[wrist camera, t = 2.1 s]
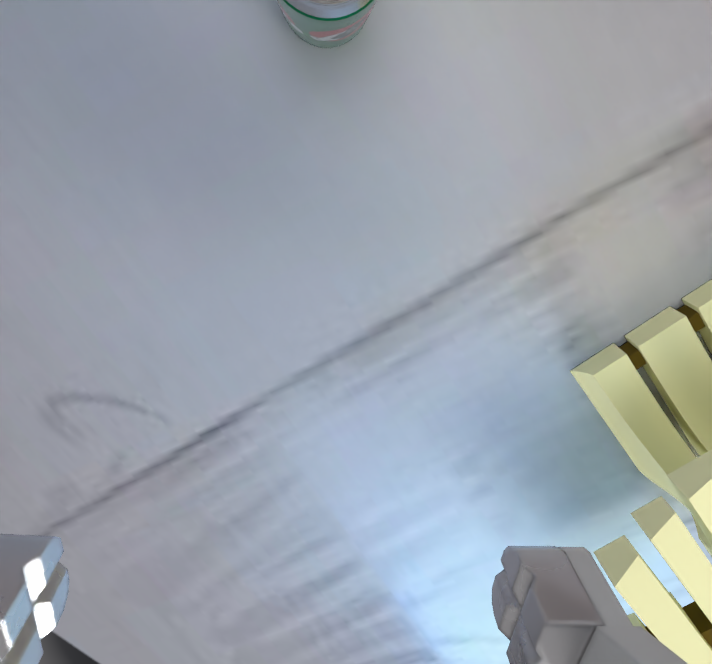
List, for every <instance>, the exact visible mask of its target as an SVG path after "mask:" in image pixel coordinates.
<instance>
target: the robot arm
mask: <svg viewBox="0 0 712 664" xmlns="http://www.w3.org/2000/svg"><path fill="white" fill-rule="evenodd" d="M63 552H64V550H63V546H62V542H61V538H60V537H55V536H34V535H13V534H0V664H38V663H39V661H40V659H41V657H42V655H43V649H42V645H41V640H40V639H42V638H43V637H44V636H45V635H46V634H48V633H49V632H50V631H52V630H53V629H54V628H55V627H56V626H57V624H58V622H59V619H60V617H61V615H62V613H63V611H64V607H65V603H66V600H67V596H68V592H69V575H68V570H67V568H66V567H64V566H63V565H62V564H61V563H60V562H58V561H59V559H60V557H61V556H62V554H63ZM501 562H502V564H503V567H504V570H503V571H501V572H500V573H499V574H497V575H496V576H495V580H494V583H493V587H492V606H493V611H494V616H495V619H496V623H497V626H498V629H499V630H500V631H501V632H502V633H503V634H504V635H505V636H506V637H507V638H508V639H509V640H510V644H509V647H508V650H507V656H508V659H509V662H510V664H688V663H686V662H685V661H684V660H683V659H681V658H680V657H679V656H678V655H676V654H675V653H674V652H673V651H671V650H670V649H669V648H668V647H666V646H665V645H664V644H662V643H661V642H660V641H659V640H657V639H656V638H655V637H654V636H652V635H651V634H650V633H649V632H647V631H646V630H645V629H644V628H642V627H641V626H633V625H632V623H631V621H630V620H629V618H628V616H627V615H626V613H625V611H624V610H623V608H622V606H621V605H620V603H619V601H618V599H617V598H616V596H615V594H614V593H613V591H612V589H611V588H610V586H609V584H608V582H607V581H606V579H605V577H604V576H603V574H602V572H601V571H600V569H599V567H598V566H597V564H596V562H595V560H594V559H593V557H592V555H591V554H590V552H589V551H588V550H586V549H585V548H584V547H555V546H508V547H507V548H506V549H505V550H504V552H503V555H502V558H501Z"/></svg>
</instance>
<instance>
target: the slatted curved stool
mask: <svg viewBox="0 0 712 664" xmlns="http://www.w3.org/2000/svg"><path fill="white" fill-rule="evenodd" d="M682 301H683V303H684V306H682V307H681V308H679V309H678V310H675V309H673V308H672V307H670V306H669V307H668V308H666V309H665V310H663V311H662V312H660V313H659V314H657V315H656V316H654V317H653V318H651V319H649V320H648V321H646V322H645V323H643V324H642V325H640V326H639V327H637V328H636V329H634V330H633V331H631V332H629V333H628V334H626V335H625V338H626V340H627V341H628V342H627V343H625V344H624V345H622V346H620V347H617V346H616V345H615V344H614V343H612V344H611V345H609V346H608V347H606V348H605V349H603V350H602V351H600V352H599V353H597V354H596V355H594V356H592V357H591V358H589V359H588V360H586V361H585V362H583V363H582V364H580V365H579V366H577V367H576V368H574V369H572V370H571V371H570V372H571V373H572V375H573V376H574V378H575V379H576V380H577V382H578V383H579V385H580V386H581V388H582V389H583V391H584V392H585V393H586V395H587V396H588V398H589V399H590V401H591V402H592V404H593V405H594V406H595V408H596V409H597V411H598V412H599V414H600V415H601V417H602V418H603V419H604V421H605V422H606V424H607V425H608V427H609V428H610V430H611V431H612V432H613V434H614V435H615V437H616V438H617V440H618V441H619V443H620V444H621V445H622V447H623V448H624V450H625V451H626V453H627V454H628V456H629V457H630V458H631V460H632V461H633V463H634V464H635V466H636V467H637V468H638V470H639V471H640V472H641V473H642V474H643V475H644V476H646V477H647V478H648V479H649V480H651V481H652V482H653V483H655V484H656V485H657V486H659V487H660V488H662V489H663V490H665V491H666V492H667V493H669V494H670V495H672V496H673V497H674V498H675V499H677V500H678V501H679V502H681V503H682V504H683V505H684V506H685V507H686V508H687V509H688V510H690V512H691V514H692V516H693V519H694V521H695V524H696V527H697V531H698V536H699V539H700V540H701V542H702V543H703V545H704V546H705V548H706V549H707V551H708V552H709V554H710V555H711V557H712V361H711V359H710V358H709V356H708V354H707V352H706V351H705V349H704V347H703V345H702V344H701V342H700V340H699V338H698V337H697V335H696V332H698V331H699V332H700V334H701V336H702V338H703V340H704V342H705V344H706V345H707V347H708V349H709V351H710V353H711V355H712V279H711V280H710V281H708V282H706V283H705V284H703V285H702V286H700V287H699V288H697V289H696V290H694V291H693V292H691V293H690V294H688V295H686V296H685V297H683V298H682ZM642 366H643V367H644V369H645V370H646V372H647V374H648V375H649V377H650V379H651V380H652V382H653V383H654V385H655V387H656V388H657V390H658V392H659V393H660V395H661V396H662V398H663V400H664V401H665V403H666V405H667V406H668V408H669V409H670V411H671V413H672V414H673V416H674V418H675V419H676V421H677V422H678V424H679V426H680V427H681V429H682V431H683V432H684V434H685V435H686V437H687V439H688V440H689V442H690V443H691V445H692V446H693V447H694V449H695V450H696V451H697V453H698V454H699V455H700V456H699V457H696V456H695V455H694V454H693V452H692V451H691V450H690V448H689V447H688V446H687V444H686V443H685V442H684V440H683V439H682V438H681V436H680V435H679V433H678V432H677V431H676V429H675V428H674V426H673V425H672V423H671V422H670V420H669V419H668V417H667V416H666V415H665V413H664V412H663V410H662V409H661V407H660V406H659V404H658V403H657V401H656V399H655V398H654V396H653V395H652V393H651V392H650V390H649V389H648V387H647V386H646V384H645V382H644V381H643V379H642V378H641V376H640V375H639V373H638V371H637V369H639V368H640V367H642ZM630 514H631V515H632V516H633V518H634V519H635V520H636V522H637V523H638V524H639V526H640V527H641V529H642V530H643V531H644V533H645V534H646V535H647V537H648V538H649V539H650V541H651V542H652V543H653V545H654V546H655V548H656V549H657V550H658V552H659V553H660V554H661V556H662V557H663V558H664V560H665V561H666V562H667V564H668V565H669V567H670V568H671V569H672V571H673V572H674V573H675V575H676V576H677V577H678V579H679V580H680V582H681V583H682V585H683V586H684V587H685V589H686V590H687V591H688V593H689V594H690V595H691V597H692V598H693V599H694V602H692V603H691V604H689V605H687V606H685V607H683V608H682V607H681V605H680V604H679V603H678V602H677V600H676V599H675V598H674V596H673V595H672V594H671V592H668V591H667V590H666V588H665V587H664V586H663V585H662V583H661V582H660V581H659V580H658V578H657V577H656V576H655V574H654V573H653V572H652V570H651V569H650V568H649V567H648V565H647V564H646V563H645V561H644V560H643V559H642V557H641V556H640V555H639V554H638V552H637V551H636V550H635V548H634V547H633V546H632V544H631V543H630V542H629V541H628V539H627V538H626V537H625V535H623V536H621V537H620V538H618V539H616V540H614V541H612V542H611V543H609V544H607V545H605V546H603V547H602V548H600V549H598V550H596V551H594V554H595V556H596V557H597V559H598V561H599V562H600V564H601V566H602V567H603V569H604V571H605V572H606V574H607V575H608V577H609V579H610V580H611V582H612V584H613V585H614V587H615V588H616V590H617V591H618V592H619V593H620V594H621V596H622V597H623V598H624V599H625V600H626V602H627V603H628V604H629V605H630V606H631V608H632V609H633V610H634V611H635V612H636V614H637V615H638V616H639V617H640V618H641V620H642V621H643V622H644V623H645V625H646V627H645V626H644V624H643V623H642V622H641V621H640V620H639V618H638V617H637V616H636V615H635V613H632V614H629V615H627V616H628V618H629V620H630V621H631V623H632V625H633V626H641V627H642V628H644V629H645V630H646V631H647V632H649V633H650V634H651V635H652V636H654V637H655V638H656V639H657V640H659V641H660V642H661V643H662V644H664V645H665V646H666V647H668V648H669V649H670V650H671V651H673V652H674V653H675V654H676V655H678V656H679V657H680V658H681V659H683V660H684V661H685V662H686V663H688V664H712V565H711V563H710V562H709V560H708V559H707V558H706V556H705V555H704V553H703V552H702V550H701V549H700V547H699V546H698V544H697V543H696V541H695V540H694V538H693V537H692V536H691V534H690V533H689V531H688V530H687V528H686V527H685V525H684V524H683V522H682V521H681V519H680V518H679V517H678V515H677V514H676V512H675V511H674V510H673V509H672V508H671V506H670V505H669V504H668V503H667V502H666V501H665V499H664V498H663V497H662V496H660V497H658V498H656V499H655V500H653V501H651V502H649V503H648V504H646V505H644V506H642V507H641V508H639V509H637V510H635V511H634V512H632V513H630Z"/></svg>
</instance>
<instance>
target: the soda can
mask: <svg viewBox="0 0 712 664" xmlns="http://www.w3.org/2000/svg"><path fill="white" fill-rule="evenodd" d="M277 1H278V3H279V6H280V8H281V10H282V12H283V15H284V17H285V19H286V21H287V23H288V24H289V26H290V27H291V29H292V30H293V31H294V32H295V33H296V34H297V35H298V36H299V37H300V38H301V39H302V40H304V41H305V42H307V43H309V44H311V45H314V46H317V47H322V48H333V47H337V46H341V45H343V44H345V43H347V42H348V41H350V40H351V39H353V38H354V37H355V36H356V35H357V34H358V33H359V31H360V30H361V29H362V27H363V26H364V24H365V22H366V20H367V18H368V16H369V14H370V12H371V10H372V8H373V6H374V5H375V3H376V1H377V0H277Z"/></svg>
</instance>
